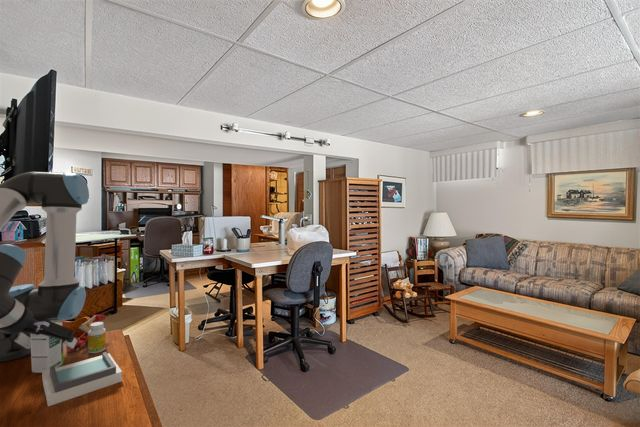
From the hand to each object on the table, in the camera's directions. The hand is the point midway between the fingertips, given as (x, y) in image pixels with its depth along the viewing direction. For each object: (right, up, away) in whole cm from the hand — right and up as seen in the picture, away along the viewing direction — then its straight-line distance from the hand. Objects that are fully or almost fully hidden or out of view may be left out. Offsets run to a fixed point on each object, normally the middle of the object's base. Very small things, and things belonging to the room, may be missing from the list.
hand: (52, 344), depth 104 cm
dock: (+17, -7, -9) cm, 20 cm away
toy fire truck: (0, -7, +15) cm, 17 cm away
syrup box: (0, -7, -2) cm, 7 cm away
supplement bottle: (+7, -7, +11) cm, 15 cm away
